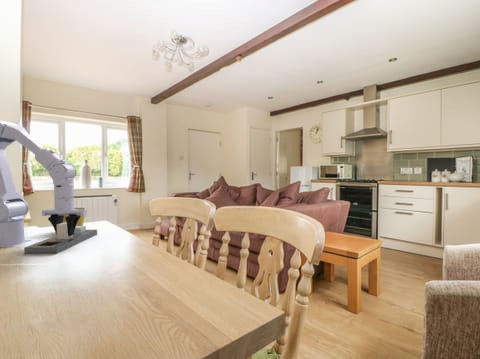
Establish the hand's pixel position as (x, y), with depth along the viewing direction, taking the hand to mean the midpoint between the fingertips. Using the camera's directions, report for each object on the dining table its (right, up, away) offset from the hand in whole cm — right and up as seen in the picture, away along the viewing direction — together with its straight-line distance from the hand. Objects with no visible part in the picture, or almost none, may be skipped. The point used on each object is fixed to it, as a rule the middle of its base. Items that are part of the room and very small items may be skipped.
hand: (65, 235), depth 93 cm
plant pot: (-9, -3, +19) cm, 21 cm away
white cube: (0, -2, +8) cm, 8 cm away
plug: (0, -3, 0) cm, 3 cm away
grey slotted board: (0, -3, 0) cm, 3 cm away
